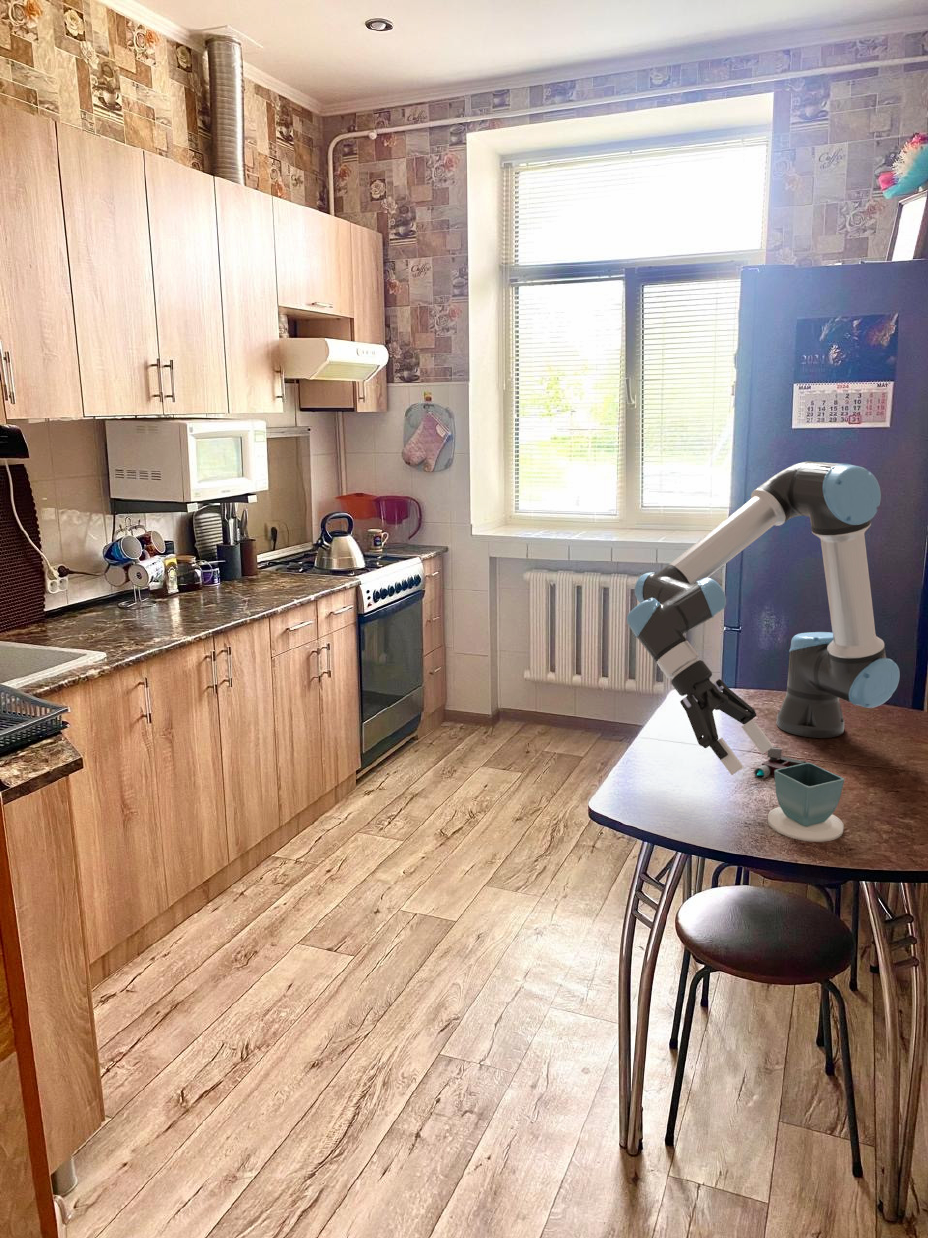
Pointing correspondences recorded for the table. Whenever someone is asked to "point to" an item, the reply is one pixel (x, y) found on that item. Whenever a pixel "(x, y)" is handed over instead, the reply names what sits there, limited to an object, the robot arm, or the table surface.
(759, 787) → the table surface
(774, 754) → the toy gun
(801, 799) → the flower pot
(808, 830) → the saucer
